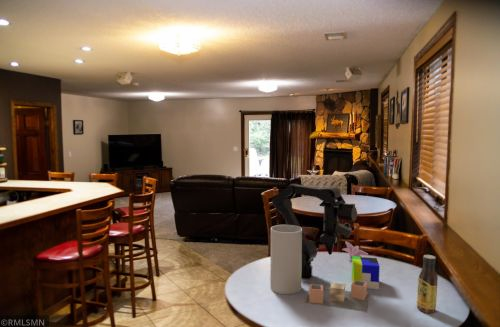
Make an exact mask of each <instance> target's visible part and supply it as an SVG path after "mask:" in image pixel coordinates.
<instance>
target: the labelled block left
mask: <svg viewBox="0 0 500 327" xmlns="http://www.w3.org/2000/svg"><path fill="white" fill-rule="evenodd" d="M323 288H324V285H323V284H311V283H310V284H309V290H308V291H309V292H308V295H309V303H308V304H310V303H323Z"/></svg>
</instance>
